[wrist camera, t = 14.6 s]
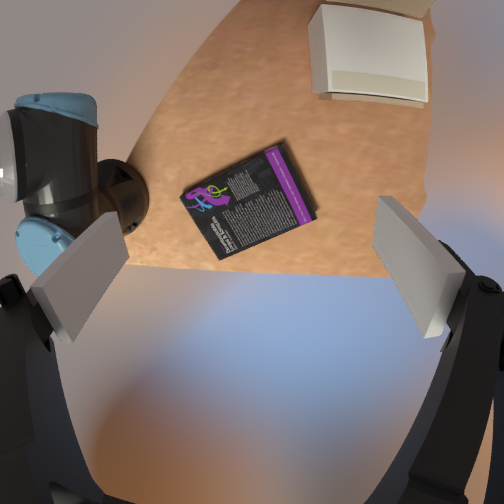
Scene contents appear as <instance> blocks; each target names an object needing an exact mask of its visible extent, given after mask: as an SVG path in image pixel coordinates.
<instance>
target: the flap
mask: <svg viewBox="0 0 504 504" xmlns="http://www.w3.org/2000/svg"><path fill="white" fill-rule="evenodd" d="M326 1H332V2H341V3H350V4H357V5H363V6H369V7H375V8H380V9H385V10H390V11H394V12H399V13H403V14H407V15H411V16H414V17H418V18H421V19H422V18H423V16H424V15H425V13H426V12H427V11H428V9H429V8H430V7H431V5H432V4H433V3H434V1H435V0H326Z"/></svg>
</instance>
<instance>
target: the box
mask: <svg viewBox="0 0 504 504" xmlns="http://www.w3.org/2000/svg"><path fill="white" fill-rule="evenodd" d="M179 199H180V201H181V202H182V203H183V205H184V206H185V208H186V209H187V211H188V213H189V214H190V216H191V217H192V219H193V221H194V222H195V224H196V225H197V227H198V228H199V230H200V231H201V233H202V235H203V236H204V238H205V239H206V241H207V242H208V244H209V245H210V247H211V248H212V250H213V252H214V253H215V255H216V256H217V258H218V260H219V261H220V260H222V259H224V258H227V257H229V256H232V255H234V254H236V253H239V252H241V251H243V250H245V249H248V248H250V247H253V246H255V245H257V244H260V243H262V242H264V241H266V240H269V239H271V238H273V237H276V236H278V235H281V234H283V233H285V232H288V231H290V230H292V229H294V228H297V227H299V226H302V225H304V224H306V223H309V222H311V221H313V220H316V219H317V215H316V213H315V211H314V209H313V206H312V204H311V202H310V200H309V198H308V195H307V193H306V191H305V189H304V187H303V185H302V182H301V180H300V178H299V176H298V174H297V172H296V170H295V168H294V166H293V164H292V162H291V160H290V157H289V155H288V153H287V151H286V149H285V147H284V144H283V143H280V144H278V145H275V146H273V147H271V148H269V149H267V150H265V151H263V152H261V153H259V154H257V155H255V156H252V157H250V158H248V159H246V160H244V161H242V162H240V163H238V164H236V165H235V166H233V167H231V168H229V169H227V170H225V171H223V172H221V173H219V174H217V175H215V176H213V177H212V178H210V179H208V180H206V181H204V182H202V183H201V184H199V185H197V186H195V187H193V188H191V189H190V190H188V191H186V192H184V193H183V194H182V195H181V196H180V197H179Z"/></svg>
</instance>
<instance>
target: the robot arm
mask: <svg viewBox="0 0 504 504" xmlns="http://www.w3.org/2000/svg"><path fill="white" fill-rule="evenodd" d="M14 107H15V109H13V110H8V111H4V112H3V113H2V114H1V115H0V196H1V197H3V198H5V199H6V200H8V201H10V202H11V203H15V202H17V201H20V200H23V205H24V210H25V216H26V218H24V219H23V220H22V221H21V222H20V224H19V225H18V227H17V231H16V233H15V240H16V246H17V249H18V252H19V254H20V256H21V258H22V260H23V262H24V263H25V264H26V266H27V267H28V268H29V269H30V271H31V272H33V273H34V274H35V275H36V276H37V277H38V278H37V280H35V282H34V283H33V284H32V285H31V286H30V289H29V291H28V292H27V293H25V290H24V288H23V287H22V284H21V282H20V280H19V278H18V276H17V275H16V274H10V275H8V276H6V277H4V278H2V279H1V280H0V304H1V305H2V307H1V308H0V504H135V503H131V502H128V501H124V500H121V499H118V498H115V497H112V496H109V495H106V494H105V493H104V492H103V491H102V490H101V489H100V487H99V486H98V485H97V484H96V483H95V482H94V480H93V479H92V477H91V475H90V472H89V470H88V468H87V466H86V463H85V460H84V457H83V455H82V452H81V449H80V446H79V444H78V441H77V438H76V435H75V432H74V429H73V426H72V422H71V419H70V416H69V412H68V408H67V404H66V401H65V397H64V393H63V388H62V384H61V379H60V375H59V370H58V364H57V359H56V353H55V347H54V342H53V340H52V338H51V337H50V335H51V333H52V332H53V330H54V332H55V333H56V335H57V337H58V338H59V340H60V341H64V342H70V343H73V342H74V340H75V339H76V337H77V335H78V334H79V332H80V330H81V329H82V327H83V326H84V324H85V322H86V321H87V319H88V318H89V316H90V314H91V313H92V311H93V310H94V308H95V306H96V305H97V303H98V302H99V300H100V299H101V297H102V296H103V294H104V293H105V291H106V290H107V288H108V287H109V285H110V284H111V282H112V281H113V279H114V278H115V276H116V275H117V274H118V272H119V271H120V269H121V268H122V266H123V265H124V264H125V262H126V261H127V260H128V258H129V254H128V251H127V247H126V244H125V240H124V237H123V236H126V235H128V234H130V233H131V232H133V231H134V230H135V229H136V228H137V227H138V226H139V225H140V224H141V223H142V221H143V220H144V218H145V216H146V213H147V210H148V203H149V199H148V192H147V188H146V185H145V183H144V181H143V179H142V177H141V176H140V174H139V173H138V172H137V171H136V170H135V169H134V168H133V167H132V166H130V165H129V164H127V163H125V162H123V161H120V160H116V159H106V160H102V161H100V162H98V163H97V129H98V124H97V105H96V101H95V100H94V99H93V97H91V96H89V95H86V94H81V93H64V92H63V93H60V92H58V93H43V94H30V95H24V96H21V97H19V98H18V99H17V100H16V103H15V104H14ZM372 246H373V248H374V250H375V251H376V253H377V255H378V256H379V258H380V259H381V261H382V263H383V264H384V266H385V268H386V269H387V271H388V273H389V275H390V276H391V278H392V280H393V281H394V283H395V285H396V287H397V288H398V290H399V292H400V294H401V296H402V297H403V299H404V301H405V303H406V305H407V307H408V308H409V310H410V312H411V314H412V316H413V318H414V320H415V322H416V324H417V326H418V327H419V330H420V332H421V334H422V336H423V338H429V337H434V336H439V335H441V333H442V331H443V329H444V327H445V324H446V323H447V324H448V326H449V328H450V329H451V331H450V333H449V335H448V337H447V339H446V341H445V343H444V345H443V347H442V349H441V351H440V352H442V355H441V358H440V361H439V364H438V367H437V369H436V372H435V375H434V377H433V380H432V383H431V385H430V388H429V390H428V392H427V395H426V397H425V400H424V402H423V404H422V406H421V409H420V411H419V413H418V415H417V417H416V419H415V421H414V423H413V425H412V427H411V429H410V432H409V433H408V435H407V437H406V439H405V441H404V443H403V444H402V446H401V448H400V450H399V452H398V453H397V455H396V457H395V459H394V460H393V462H392V464H391V465H390V467H389V469H388V470H387V472H386V473H385V475H384V477H383V478H382V480H381V481H380V483H379V484H378V486H377V487H376V489H375V490H374V492H373V493H372V494H371V496H370V497H369V498H368V499H367V501H366V502H365V503H364V504H468V499H467V497H466V496H465V495H464V490H465V487H466V484H467V482H468V479H469V477H470V474H471V472H472V469H473V466H474V464H475V461H476V458H477V455H478V452H479V449H480V446H481V443H482V440H483V436H484V432H485V429H486V425H487V422H488V418H489V414H490V409H491V404H492V400H494V419H493V441H492V453H491V463H490V470H489V477H488V484H487V489H486V494H485V499H484V503H483V504H504V292H503V291H502V289H501V287H500V286H499V284H498V283H496V282H495V281H494V280H492V279H491V278H489V277H486V276H476V275H475V274H474V273H473V272H472V271H471V269H470V268H469V267H468V266H467V265H466V264H465V263H464V262H463V261H462V260H461V259H460V257H459V256H458V255H457V254H455V252H454V251H453V250H452V249H451V248H450V247H449V246H448V245H447V244H445V243H443V242H441V241H440V240H437V239H436V238H435V237H434V236H433V235H432V234H431V233H430V232H429V231H428V230H427V229H426V228H425V227H424V226H423V225H422V224H421V223H420V222H419V221H418V220H417V219H416V218H415V217H414V216H413V215H412V214H411V213H410V212H409V211H407V210H406V209H405V208H404V207H403V206H402V205H401V204H400V203H399V202H398V201H397V200H396V199H394V198H393V197H392V196H378V201H377V211H376V220H375V229H374V236H373V244H372Z"/></svg>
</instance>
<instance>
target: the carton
mask: <svg viewBox="0 0 504 504" xmlns="http://www.w3.org/2000/svg"><path fill="white" fill-rule="evenodd" d="M307 28H308V38H309V50H310V63H311V78H312V93H319V94H318V95H319V99H326V100H348V101H362V102H374V103H383V104H392V105H400V106H408V107H415V108H421V109H424V103H420V102H428V78H427V60H426V48H425V39H424V30H423V23H422V22H421V21H417V20H414V19H410V18H406V17H402V16H398V15H393V14H389V13H384V12H379V11H373V10H367V9H361V8H354V7H347V6H338V5H327V4H321V5H320V7H319V8H318V10H317V11H316V13H315V14H314V16H313V18H312V19H311V21H310V23H309V24H308V26H307ZM407 100H410V101H407ZM414 101H419V102H414Z"/></svg>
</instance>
